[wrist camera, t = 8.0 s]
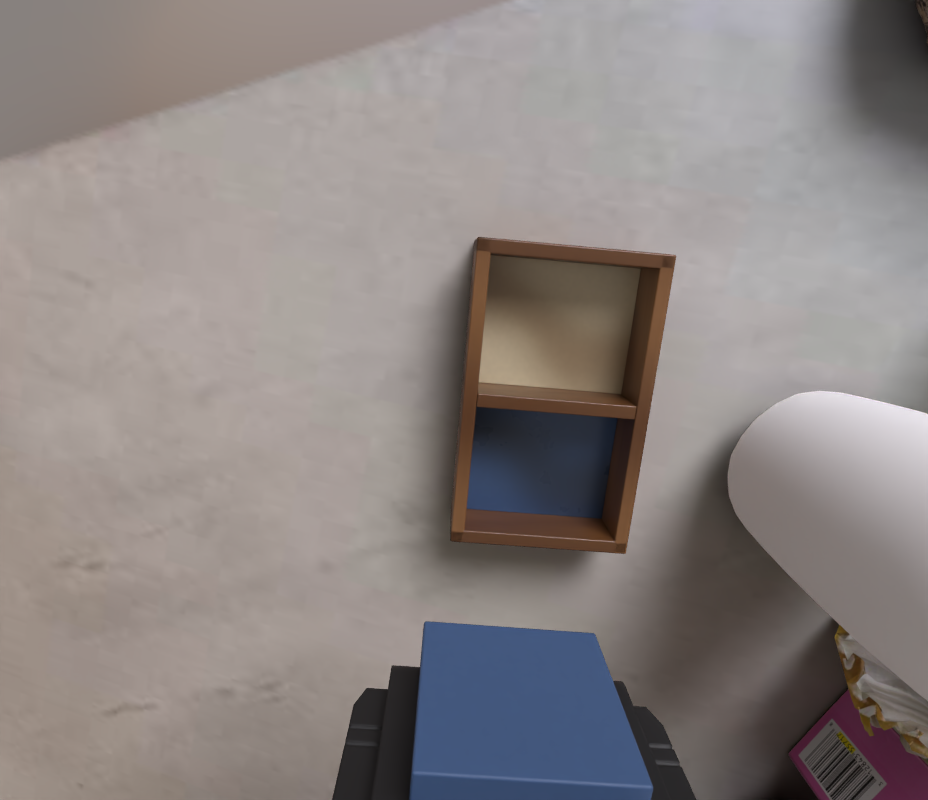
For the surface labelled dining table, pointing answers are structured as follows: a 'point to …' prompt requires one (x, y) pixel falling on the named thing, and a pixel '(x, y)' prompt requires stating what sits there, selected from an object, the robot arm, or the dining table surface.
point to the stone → (923, 12)
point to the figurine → (883, 696)
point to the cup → (845, 515)
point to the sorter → (556, 393)
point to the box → (858, 759)
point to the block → (520, 719)
